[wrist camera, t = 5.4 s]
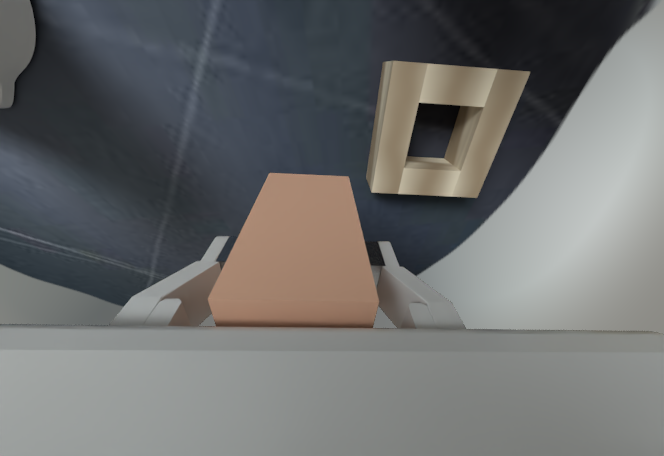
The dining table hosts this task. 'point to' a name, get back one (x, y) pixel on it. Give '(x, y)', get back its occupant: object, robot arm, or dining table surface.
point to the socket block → (467, 137)
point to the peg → (298, 260)
